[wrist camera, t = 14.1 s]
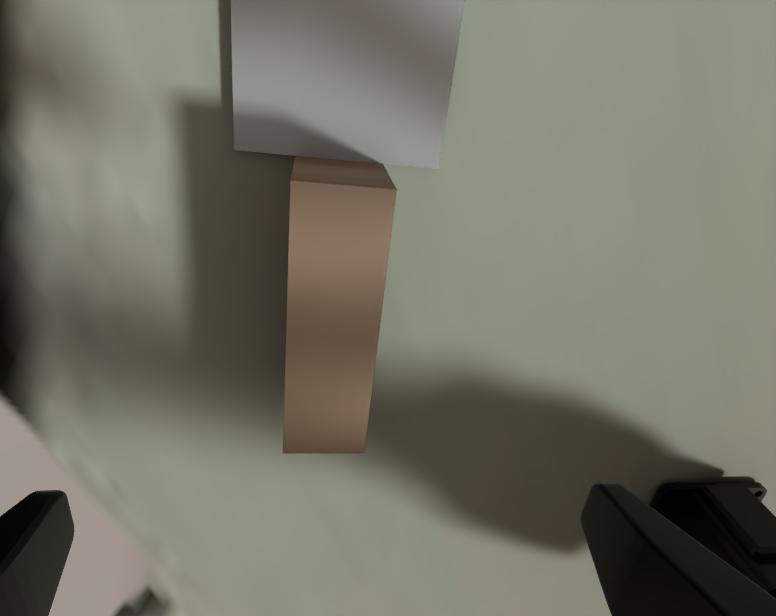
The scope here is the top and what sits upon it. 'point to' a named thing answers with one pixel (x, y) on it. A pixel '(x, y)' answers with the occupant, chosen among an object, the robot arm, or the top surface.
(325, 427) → the turner
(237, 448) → the top surface
